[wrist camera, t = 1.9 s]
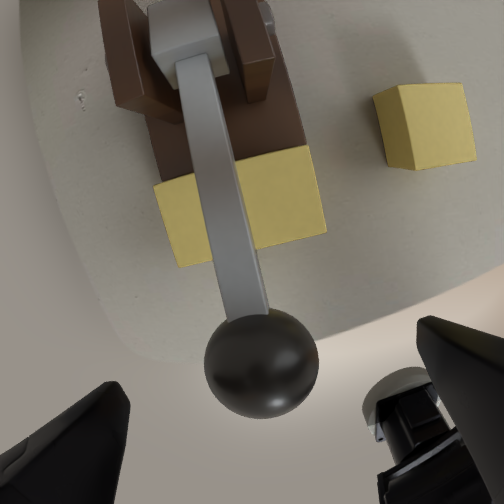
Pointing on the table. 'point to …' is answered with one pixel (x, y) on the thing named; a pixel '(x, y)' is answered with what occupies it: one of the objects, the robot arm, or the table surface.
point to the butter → (248, 204)
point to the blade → (229, 229)
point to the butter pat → (425, 125)
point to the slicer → (229, 86)
